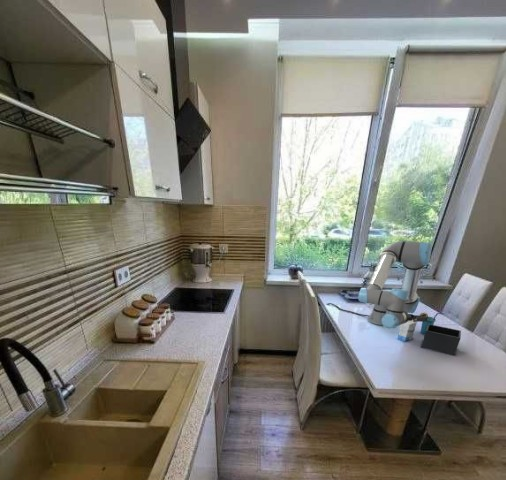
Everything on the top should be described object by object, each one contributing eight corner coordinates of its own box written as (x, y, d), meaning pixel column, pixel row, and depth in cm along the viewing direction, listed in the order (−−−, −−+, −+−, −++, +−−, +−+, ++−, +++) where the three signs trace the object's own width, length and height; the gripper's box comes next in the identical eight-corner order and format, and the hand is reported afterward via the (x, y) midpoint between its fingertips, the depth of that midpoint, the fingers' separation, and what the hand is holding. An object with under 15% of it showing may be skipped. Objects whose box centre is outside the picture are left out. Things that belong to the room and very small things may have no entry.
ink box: (405, 341, 169) (411, 319, 163) (397, 338, 173) (403, 317, 167) (412, 338, 174) (418, 317, 168) (404, 335, 178) (410, 314, 171)
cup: (434, 331, 185) (440, 310, 178) (440, 336, 178) (447, 314, 171) (412, 330, 186) (418, 309, 180) (417, 335, 179) (424, 313, 173)
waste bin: (420, 347, 163) (425, 330, 158) (423, 339, 173) (428, 323, 168) (454, 355, 154) (460, 338, 150) (455, 347, 164) (461, 330, 159)
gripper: (374, 318, 155) (388, 314, 170) (423, 331, 139) (434, 325, 153) (377, 305, 153) (391, 302, 167) (427, 316, 136) (438, 312, 151)
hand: (411, 313), depth 160 cm, fingers open, 13 cm apart
